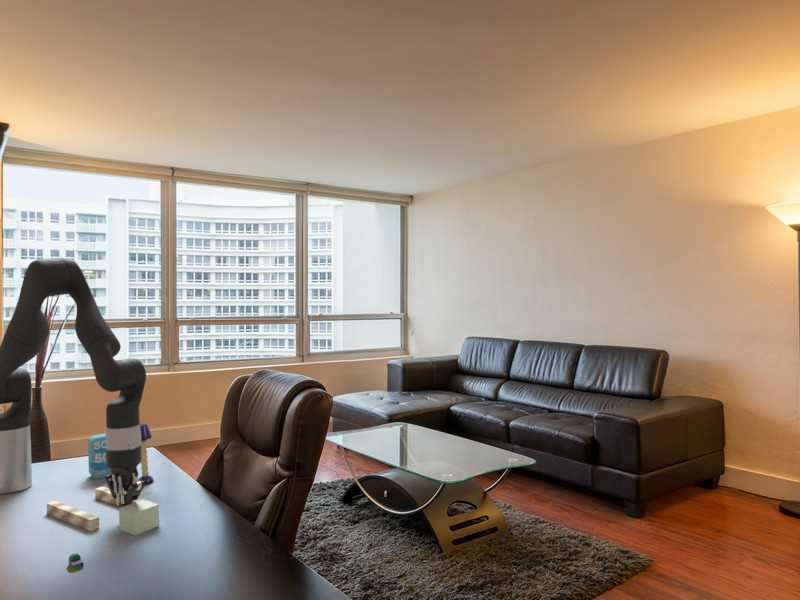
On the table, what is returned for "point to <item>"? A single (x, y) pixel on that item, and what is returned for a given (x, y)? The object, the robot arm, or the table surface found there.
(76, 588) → the table surface
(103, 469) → the data package
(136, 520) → the sage block
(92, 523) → the parallel wooden bars
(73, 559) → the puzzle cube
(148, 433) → the toy lamp
